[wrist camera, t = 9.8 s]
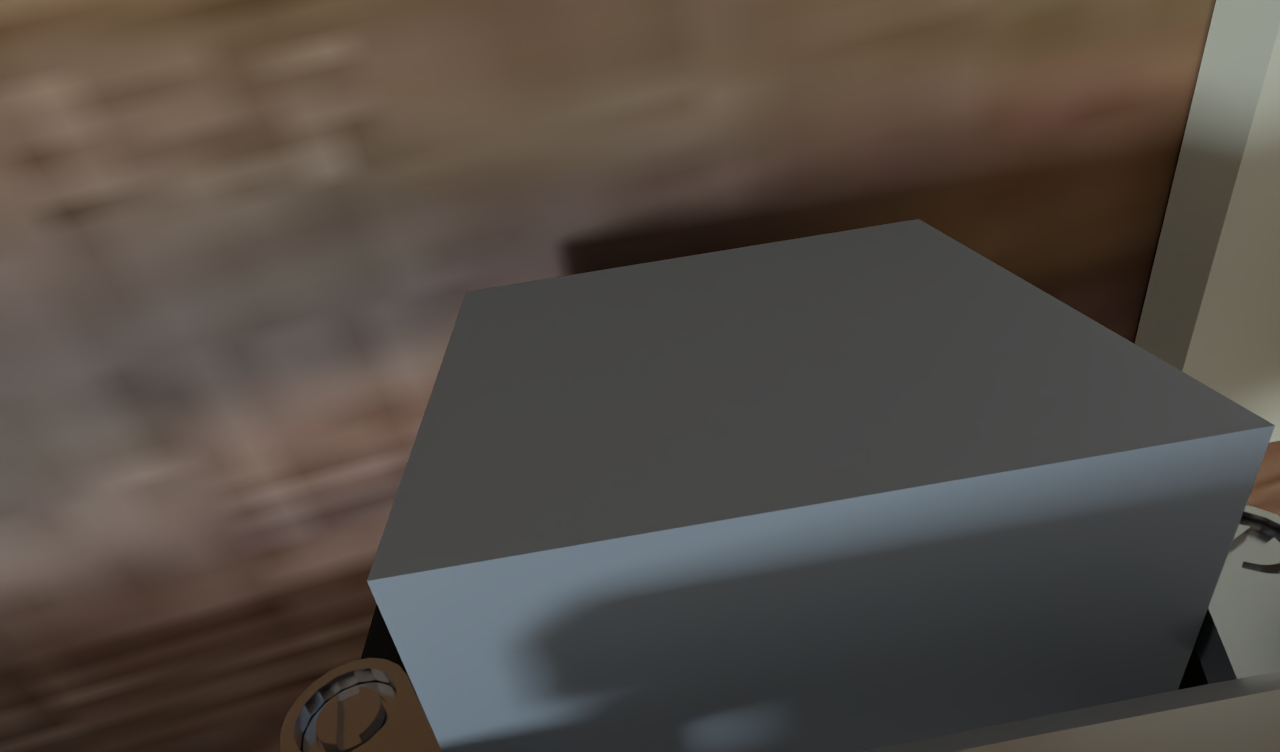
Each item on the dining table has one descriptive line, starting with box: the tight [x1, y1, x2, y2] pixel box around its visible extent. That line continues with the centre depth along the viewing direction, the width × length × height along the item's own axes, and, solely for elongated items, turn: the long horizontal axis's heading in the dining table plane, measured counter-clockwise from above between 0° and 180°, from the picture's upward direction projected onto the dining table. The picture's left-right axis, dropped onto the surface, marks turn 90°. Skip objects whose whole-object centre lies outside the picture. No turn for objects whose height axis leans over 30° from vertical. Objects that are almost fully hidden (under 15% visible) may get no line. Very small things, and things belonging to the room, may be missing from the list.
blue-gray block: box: [367, 219, 1275, 752], centre depth 9 cm, size 7×7×6 cm
